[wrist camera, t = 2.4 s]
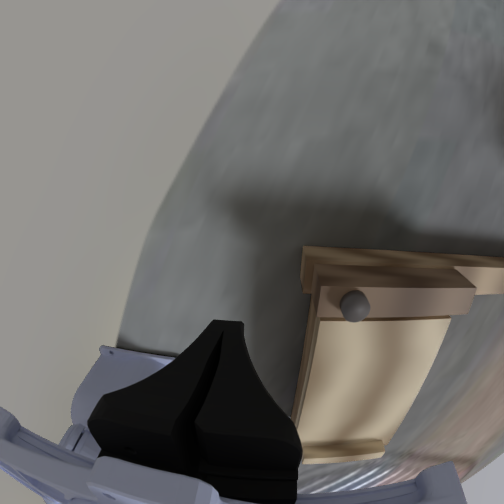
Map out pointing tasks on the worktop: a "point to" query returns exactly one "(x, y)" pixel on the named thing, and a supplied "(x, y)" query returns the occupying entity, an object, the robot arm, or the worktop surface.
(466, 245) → the worktop surface
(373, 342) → the lid
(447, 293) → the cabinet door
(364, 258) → the brown piece
